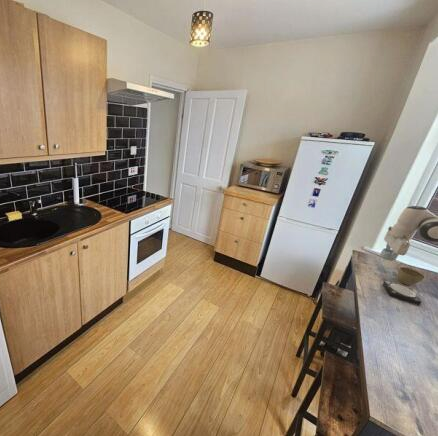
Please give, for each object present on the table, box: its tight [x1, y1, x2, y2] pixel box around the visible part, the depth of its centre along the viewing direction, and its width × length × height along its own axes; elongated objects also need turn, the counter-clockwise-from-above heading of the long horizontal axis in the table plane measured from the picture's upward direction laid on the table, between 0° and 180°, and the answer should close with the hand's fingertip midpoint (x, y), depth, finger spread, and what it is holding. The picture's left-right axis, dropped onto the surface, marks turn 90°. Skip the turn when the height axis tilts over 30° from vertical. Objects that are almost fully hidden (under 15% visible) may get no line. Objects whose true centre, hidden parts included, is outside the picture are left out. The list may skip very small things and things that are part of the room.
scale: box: [382, 280, 423, 306], centre depth 118 cm, size 11×11×3 cm
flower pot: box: [396, 266, 426, 286], centre depth 127 cm, size 10×10×7 cm
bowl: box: [379, 247, 400, 262], centre depth 134 cm, size 7×7×4 cm
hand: (389, 254), depth 134 cm, fingers closed on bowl, 7 cm apart
